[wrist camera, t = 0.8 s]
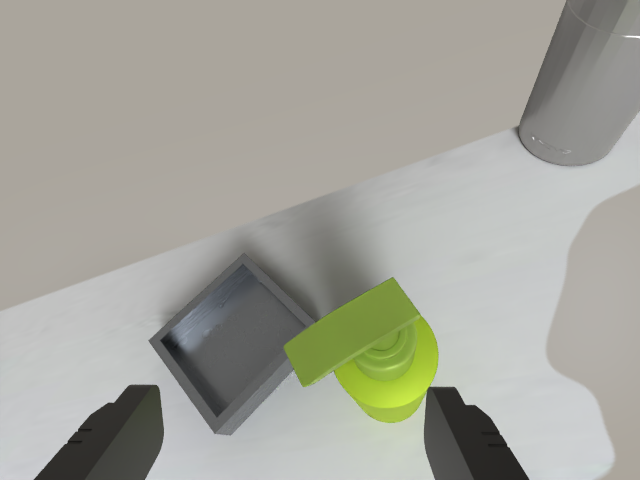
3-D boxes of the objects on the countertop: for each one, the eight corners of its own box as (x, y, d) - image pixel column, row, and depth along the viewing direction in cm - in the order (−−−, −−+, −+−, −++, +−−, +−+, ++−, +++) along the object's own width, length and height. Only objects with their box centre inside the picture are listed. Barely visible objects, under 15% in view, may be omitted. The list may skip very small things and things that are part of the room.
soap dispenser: (330, 378, 33) (259, 302, 16) (397, 336, 34) (397, 221, 17) (366, 444, 30) (326, 439, 13) (438, 398, 31) (490, 335, 14)
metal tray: (255, 267, 40) (244, 253, 37) (325, 335, 35) (319, 325, 32) (167, 348, 37) (148, 340, 34) (230, 435, 33) (214, 433, 30)
